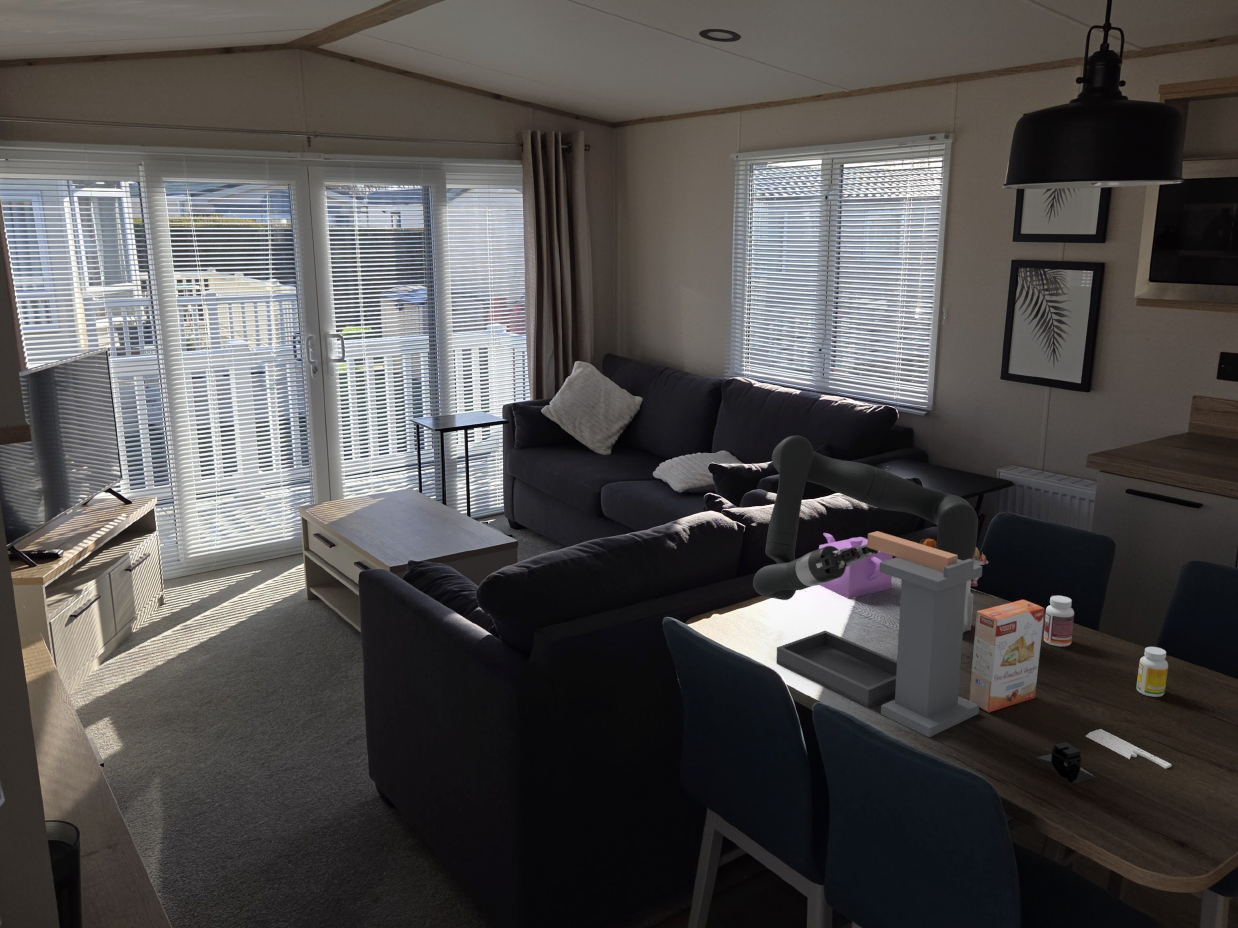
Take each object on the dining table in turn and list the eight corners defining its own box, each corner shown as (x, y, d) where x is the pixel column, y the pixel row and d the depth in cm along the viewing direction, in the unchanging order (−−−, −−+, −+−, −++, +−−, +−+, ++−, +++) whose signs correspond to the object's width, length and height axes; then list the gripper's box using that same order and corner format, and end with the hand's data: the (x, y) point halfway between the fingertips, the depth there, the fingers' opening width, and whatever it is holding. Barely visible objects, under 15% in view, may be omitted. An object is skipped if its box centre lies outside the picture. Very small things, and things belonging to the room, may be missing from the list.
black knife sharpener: (1025, 757, 187) (1027, 735, 186) (1056, 750, 189) (1058, 728, 188) (1075, 791, 175) (1077, 767, 174) (1107, 783, 178) (1109, 760, 177)
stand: (869, 708, 205) (877, 554, 197) (918, 687, 214) (927, 538, 206) (929, 737, 193) (939, 574, 185) (978, 713, 202) (990, 557, 194)
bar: (867, 547, 208) (867, 533, 207) (876, 544, 209) (877, 531, 209) (947, 572, 192) (948, 558, 191) (956, 569, 194) (957, 555, 193)
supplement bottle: (1130, 689, 212) (1135, 648, 210) (1147, 684, 214) (1152, 643, 212) (1153, 699, 207) (1158, 657, 205) (1170, 694, 209) (1175, 652, 207)
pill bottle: (1076, 643, 235) (1081, 600, 233) (1061, 649, 232) (1065, 605, 229) (1053, 634, 240) (1057, 592, 238) (1037, 640, 237) (1041, 597, 235)
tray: (776, 663, 227) (776, 647, 226) (824, 645, 236) (825, 630, 235) (867, 707, 206) (868, 689, 205) (916, 686, 215) (917, 669, 214)
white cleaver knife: (1153, 775, 180) (1153, 769, 179) (1083, 738, 193) (1083, 733, 193) (1171, 767, 182) (1171, 762, 182) (1101, 732, 195) (1101, 727, 195)
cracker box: (990, 714, 202) (997, 619, 197) (967, 702, 207) (974, 609, 202) (1037, 699, 208) (1046, 606, 203) (1014, 687, 213) (1022, 597, 208)
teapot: (842, 568, 290) (844, 522, 286) (903, 594, 268) (906, 545, 265) (801, 577, 283) (803, 530, 280) (860, 605, 261) (863, 555, 258)
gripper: (791, 557, 219) (840, 537, 206) (836, 544, 227) (885, 525, 214) (803, 589, 217) (853, 571, 204) (847, 575, 225) (898, 557, 212)
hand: (869, 547), depth 209 cm, fingers open, 8 cm apart
